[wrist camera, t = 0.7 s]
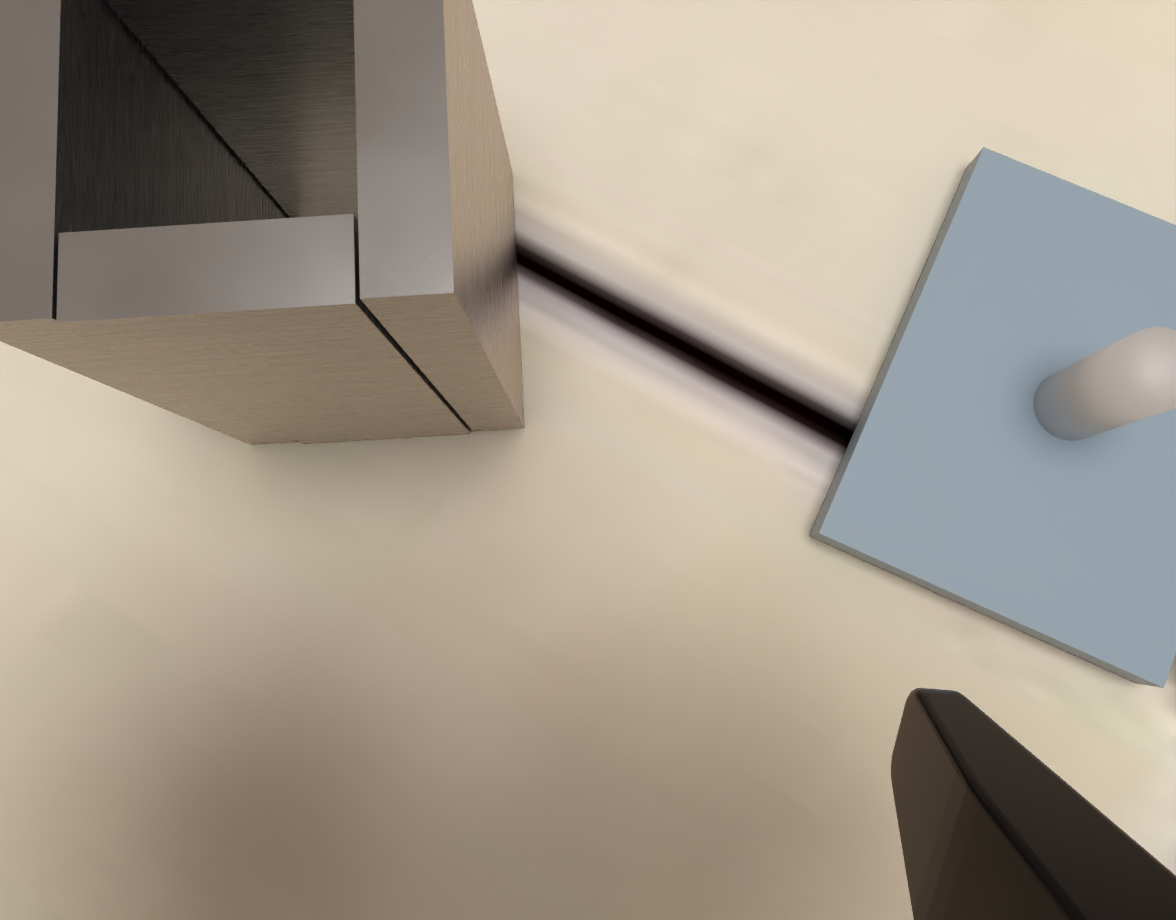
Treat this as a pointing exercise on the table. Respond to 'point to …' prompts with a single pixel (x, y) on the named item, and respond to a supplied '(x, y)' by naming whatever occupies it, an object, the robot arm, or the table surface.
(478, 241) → the open metal box
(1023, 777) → the robot arm
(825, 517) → the shaft stand
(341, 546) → the table surface
